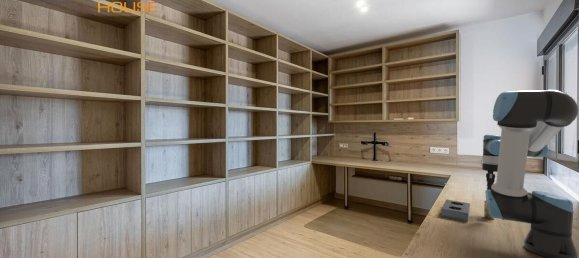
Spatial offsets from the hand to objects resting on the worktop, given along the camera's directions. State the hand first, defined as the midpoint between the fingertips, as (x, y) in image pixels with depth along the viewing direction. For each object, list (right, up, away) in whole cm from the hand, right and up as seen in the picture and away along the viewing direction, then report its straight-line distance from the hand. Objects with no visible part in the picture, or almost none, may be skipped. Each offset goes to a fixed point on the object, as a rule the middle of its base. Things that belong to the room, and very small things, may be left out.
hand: (489, 202), depth 141 cm
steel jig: (-14, -8, +6) cm, 17 cm away
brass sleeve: (0, -9, 0) cm, 9 cm away
